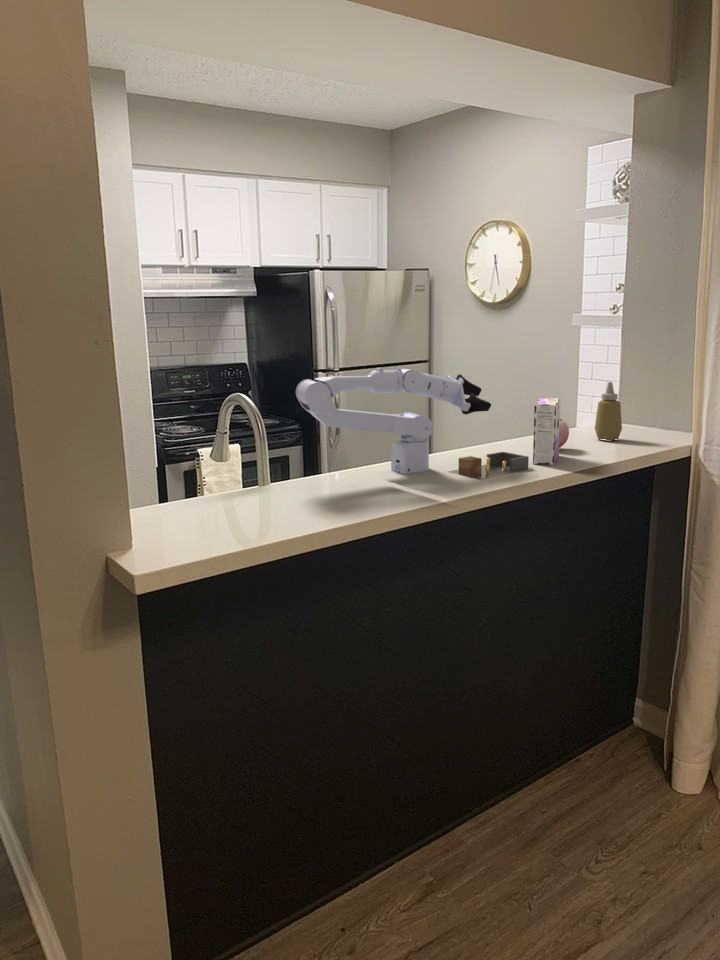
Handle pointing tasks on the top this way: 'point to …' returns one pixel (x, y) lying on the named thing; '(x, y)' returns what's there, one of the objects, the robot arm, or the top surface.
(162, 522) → the top surface
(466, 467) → the walnut block
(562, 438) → the decorative fruit
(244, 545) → the top surface
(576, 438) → the top surface
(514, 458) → the housing
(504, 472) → the base plate
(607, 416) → the squeeze bottle
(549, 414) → the candy box
